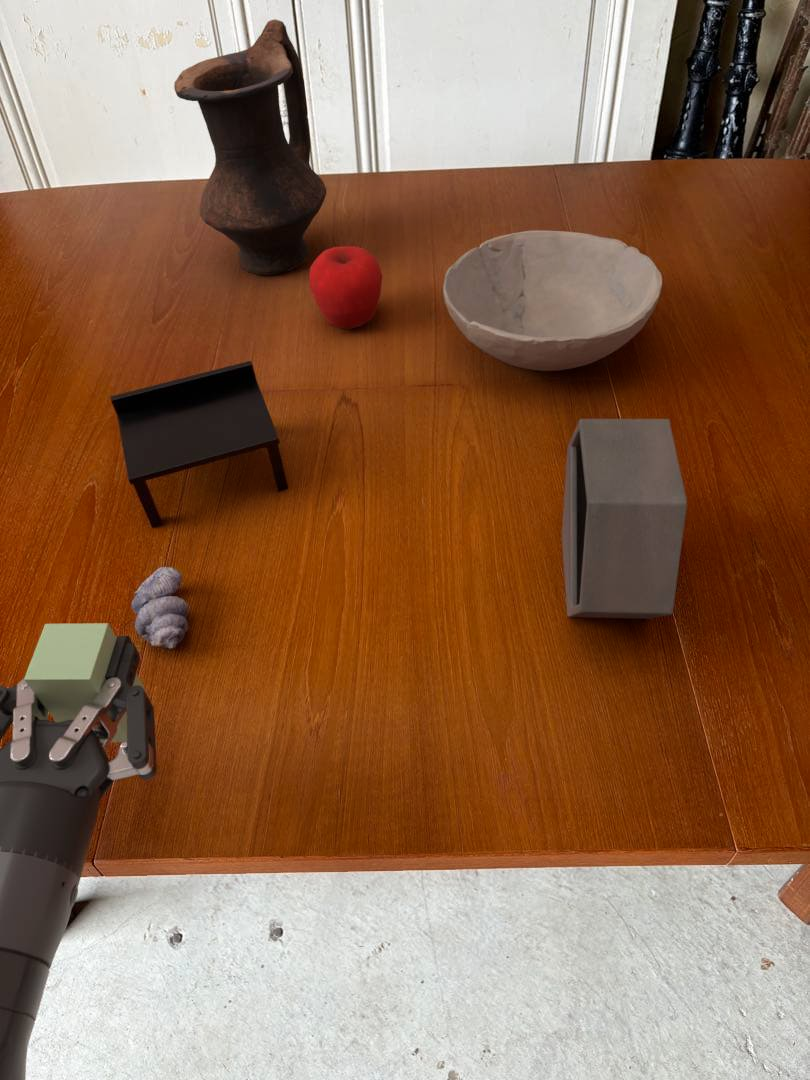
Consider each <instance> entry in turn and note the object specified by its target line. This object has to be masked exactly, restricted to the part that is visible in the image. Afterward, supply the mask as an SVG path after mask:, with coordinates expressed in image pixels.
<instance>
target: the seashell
mask: <svg viewBox="0 0 810 1080" xmlns="http://www.w3.org/2000/svg"><path fill="white" fill-rule="evenodd" d="M182 582H183V575H182V573H181V572H180V571H179V570H177V569H176V568H175V567H173V566H172V567H171V566H161V567H158V568H157V569H155V571H153V573H152V574H151V575H150V576H149V577H147V578H146V579H145V580H144V581H143V582H141V584H140V586H139V587H138V588H137V590H136V591H135V592H133V594H134V597H133V599H132V601H131V609H132V611H133V613H134V614H136V618H135V622H134V629H135V631H136V632H137V634H138V636H140V637H141V638H142V639H144V640H145V641H146V642H148V643H149V644H151V647H159V648H164V649H169V650H172V649H176V647H177V644H179V643H180V642H181V641H183V639H184V637H185V634H186V632H187V631H188V630H189V623H188V620H187V618H188V616H189V609H190V607H189V604H188V603H187V602H186V601H185V600H184V599H183V598H182V597H181V598H180V597H178V596H177V595H175V596H174V595H173V594H175V593H177V591H178V590H179V588H180V586H181V583H182Z"/></svg>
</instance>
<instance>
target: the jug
mask: <svg viewBox="0 0 810 1080" xmlns="http://www.w3.org/2000/svg"><path fill="white" fill-rule="evenodd" d="M173 84H174V86H173V88H174V92H175V94H176V97H178V98H179V99H182V100H185V101H188V102H189V101H190V102H197V104H198V106H199V109H200V112H201V114H202V117H203V119H204V122H205V125H206V129H207V132H208V134H209V138H210V141H211V143H212V146H213V150H214V157H215V162H214V163H215V164H214V167H213V169H212V172H211V173H210V175H209V178H208V180H207V182H206V185H205V187H204V189H203V191H202V194H201V198H200V202H199V214H200V217H201V219H202V221H204V223H205V224H206V225H208V226H209V227H210V228H212V229H213V230H215V231H217V232H219V233H221V234H223V235H224V236H225V237H227V238H228V239H229V240H230V241H232V242H233V243H234V244H235V245H237V247H238V248H239V251H238V255H237V261H238V265H239V266H240V268H241V269H242V270H243V271H244V270H245V271H246V272H248V273H251V274H257V275H265V276H266V275H267V276H268V275H276V274H280V273H283V272H287V271H291V270H293V269H296V268H297V267H298V266H301V265H302V264H303V263H305V261H306V260H307V257H308V255H309V244H308V243H307V241H306V240H305V239H304V234H305V233H306V232H307V230H308V228H309V227H310V225H311V223H312V222H313V220H314V218H315V217H316V216H317V215H318V213H319V212H320V210H321V208H322V206H323V204H324V202H325V199H326V196H327V187H326V185H325V182H324V180H323V179H322V178H321V177H320V176H319V175H318V174H317V173H316V171H314V169H312V166H311V164H310V159H311V158H310V157H311V146H312V145H311V133H310V125H309V118H308V113H309V112H308V104H307V95H306V94H307V93H306V87H305V86H306V85H305V80H304V75H303V67H302V63H301V61H300V57H299V55H298V53H297V51H296V49H295V46H294V44H293V42H292V41H291V38H290V36H289V35H288V31H287V26H286V25H285V23H284V22H283V21H282V20H278V19H277V18H276V19H275V18H274V19H270V20H269V21H267V23H266V24H265V26H264V28H263V29H262V31H261V33H260V34H259V36H258V37H257V39H256V40H255V42H254V43H253V44H252V46H250V47H248V48H247V49H244V50H241V51H237V52H233V53H227V54H224V55H220V56H215V57H212V58H208V59H205V60H202V61H199V62H197V63H195V64H193V65H191V66H189V67H187V68H185V69H183V70H182V71H181V72H180V74H179V75H178V76H177V78H176V80H175V81H174V83H173ZM282 84H283V91H284V95H285V96H284V97H285V103H286V108H287V121H288V123H287V124H288V135H289V139H287V138H286V133H285V130H284V124H283V119H282V113H281V106H280V93H279V86H281V85H282Z"/></svg>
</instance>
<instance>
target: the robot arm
mask: <svg viewBox="0 0 810 1080" xmlns="http://www.w3.org/2000/svg"><path fill="white" fill-rule="evenodd" d="M116 638H117V639H116V643H115V646H114V649H113V652H112V655H111V659H110V662H109V665H108V668H107V671H106V675H105V678H106V680H107V681H106V682H105V683H104V684H103V686H102V687H101V689H100V691H99V693H97V695H96V696H95V698H94V699H93V700H92V702H90V703H86V704H85V705H84V706H83V708H82V709H81V710H80V712H79V713H78V715H77V716H76V718H75V719H74V720H67V721H62V722H56V721H53V720H49V712H48V710H47V709H46V708H45V707H44V705H43V704H42V703H41V701H40V700H39V699H38V698H37V696H36V695H35V693H34V692H33V691H32V690H31V688H30V687H29V686H28V684H27V683H26V682H25V681H24V678H23V679H21V680H20V681H19V682H18V683H17V685H13V686H10V687H6V686H4V685H0V741H1V740H2V739H3V737H4V736H5V734H6V733H7V731H8V730H9V728H10V727H11V726H12V737H11V739H10V740H9V741H8V742H7V743H6V744H4V745H3V746H2V747H1V748H0V1080H26V1076H27V1058H28V1048H29V1043H30V1039H31V1036H32V1033H33V1029H34V1027H35V1022H36V1021H37V1017H38V1014H39V1010H40V1007H41V1002H42V1001H43V1000H42V999H43V996H44V992H45V989H46V985H47V982H48V979H49V976H50V975H49V974H50V969H51V967H52V964H53V961H54V959H55V956H56V953H57V951H58V950H59V949H58V948H59V946H60V944H61V942H62V939H63V937H64V935H65V932H66V929H67V927H68V923H69V920H70V916H71V914H72V910H73V907H74V905H75V903H76V901H77V898H78V894H79V884H80V882H81V878H82V874H83V871H84V867H85V863H86V860H87V856H88V853H89V849H90V845H91V842H92V838H93V834H94V832H95V828H96V825H97V821H98V815H99V810H100V804H101V802H102V799H103V797H104V796H105V794H106V793H107V792H108V791H109V790H110V789H111V787H112V785H113V784H114V781H117V780H121V779H125V778H130V777H134V776H138V777H139V778H140V779H141V780H143V781H149V780H151V779H153V778H154V777H155V776H156V774H157V773H158V772H157V771H158V768H157V745H156V744H157V743H156V725H155V707H154V705H153V703H152V701H151V699H150V697H149V696H148V694H147V693H146V690H145V691H144V689H143V688H142V687H141V686H138V685H136V686H133V683H134V680H135V676H136V674H137V672H138V669H139V665H140V661H141V655H140V652H139V651H138V649H137V646H136V644H135V643H134V642H133V641H132V639H131V637H130V636H129V635H117V636H116ZM126 710H127V742H126V741H124V742H120V746H119V748H118V752H117V755H116V757H115V758H113V759H112V760H111V761H110V759H109V757H108V755H107V753H106V750H107V749H108V747H109V745H110V744H111V743H112V742H111V741H112V739H113V738H114V736H115V734H116V732H117V725H118V723H119V721H120V720H121V718H122V717H123V715H124V713H125V712H126ZM93 727H94V731H93V729H92V728H93Z"/></svg>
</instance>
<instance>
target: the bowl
mask: <svg viewBox="0 0 810 1080" xmlns="http://www.w3.org/2000/svg"><path fill="white" fill-rule="evenodd" d="M662 276H663V275H662V273H661V272H660V270H659V269H658V267H657V266H656V264H655V263H654V261H653V260H652V258H650V257H649V256H648V255H645V254H643V253H641V252H640V251H639V249H638V248H636V247H634V246H628V243H625V242H623V241H622V240H620V239H616V238H611V237H602V236H598V235H595V234H590V233H583V232H575V231H561V230H545V229H544V230H525V231H519V232H513V233H509V234H503V235H500V236H496V237H493V238H490V239H487V240H485V241H483V242H482V243H481V244H480V245H479V246H478V247H474V248H471V249H469V250H468V251H467V252H465V253H464V254H462V255H461V256H460V257H459V258H458V259H457V260H456V262H454V263H453V264H452V265H451V266H449V268H448V269H447V271H446V272H445V275H444V281H443V285H442V292H443V293H442V294H443V301H444V304H445V307H446V310H447V312H448V314H449V316H450V318H451V319H452V321H453V322H454V324H455V325H456V326H457V328H458V329H459V330H460V332H461V333H462V334H463V336H464V337H465V338H466V339H467V340H468V341H469V342H471V343H472V344H473V345H475V346H476V347H477V348H479V350H481V351H483V352H484V353H486V354H487V355H489V356H491V357H493V358H495V359H497V360H499V361H501V362H503V363H505V364H508V365H511V366H512V367H513V366H514V367H516V368H520V369H524V370H533V371H540V372H554V371H556V372H557V371H566V370H570V369H576V368H579V367H584V366H586V365H590V364H593V363H595V362H597V361H599V360H602V359H603V358H605V357H607V356H609V355H610V354H613V353H614V352H616V351H617V350H619V349H620V348H622V347H623V346H624V345H626V344H627V343H628V342H629V341H631V340H632V339H634V337H636V335H637V334H638V333H639V332H640V331H641V330H642V329H643V328H644V326H645V325H646V323H647V322H648V320H649V319H650V317H651V316H652V314H653V312H654V310H655V308H656V306H657V304H658V302H659V300H660V298H661V295H662V287H663V277H662Z"/></svg>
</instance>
